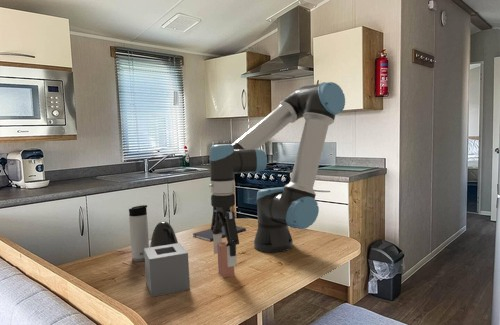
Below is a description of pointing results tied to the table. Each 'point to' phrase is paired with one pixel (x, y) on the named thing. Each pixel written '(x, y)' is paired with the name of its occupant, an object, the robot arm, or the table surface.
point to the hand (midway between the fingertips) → (224, 259)
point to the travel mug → (138, 232)
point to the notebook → (209, 234)
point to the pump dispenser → (163, 235)
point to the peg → (223, 260)
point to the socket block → (166, 269)
